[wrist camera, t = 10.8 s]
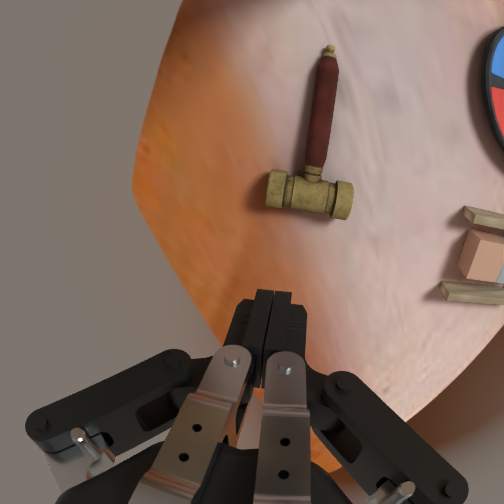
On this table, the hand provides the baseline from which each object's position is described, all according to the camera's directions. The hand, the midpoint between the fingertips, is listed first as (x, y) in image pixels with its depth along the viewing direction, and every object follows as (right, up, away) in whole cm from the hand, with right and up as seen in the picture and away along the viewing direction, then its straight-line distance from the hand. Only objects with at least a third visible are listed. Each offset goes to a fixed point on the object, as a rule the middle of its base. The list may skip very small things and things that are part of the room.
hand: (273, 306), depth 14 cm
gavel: (+7, +18, +22) cm, 29 cm away
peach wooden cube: (+33, +3, +24) cm, 41 cm away
